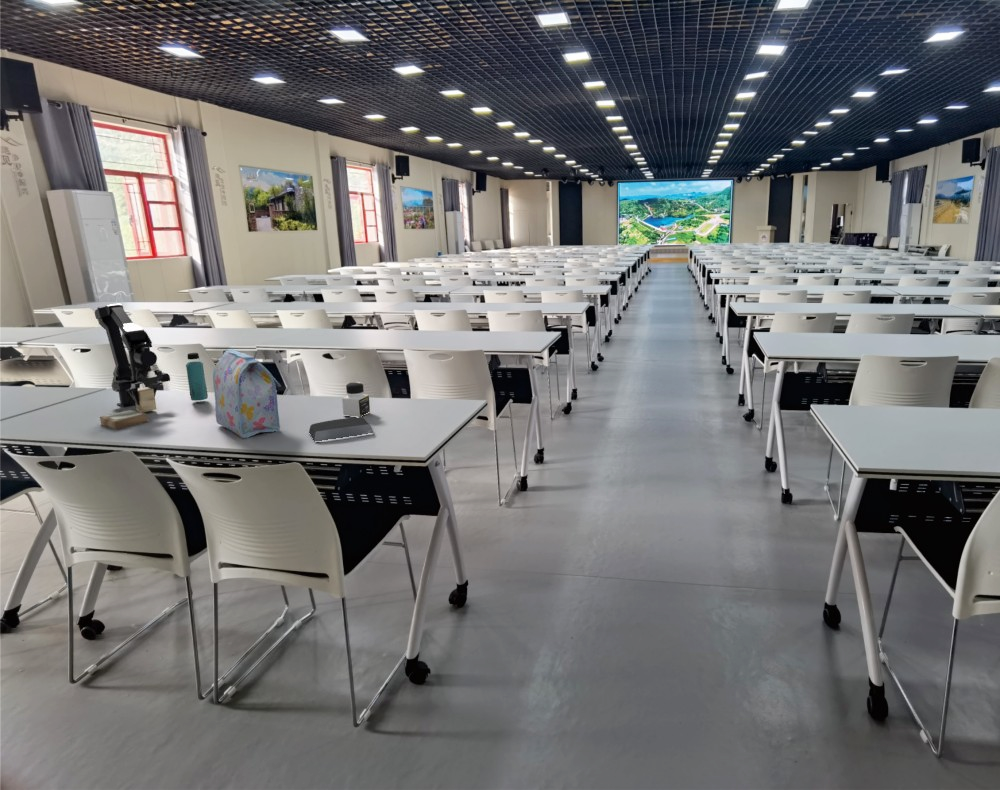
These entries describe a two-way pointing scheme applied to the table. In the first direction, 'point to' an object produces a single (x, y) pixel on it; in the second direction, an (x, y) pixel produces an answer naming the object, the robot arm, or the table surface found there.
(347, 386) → the medicine bottle
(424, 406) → the table surface
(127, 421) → the picture frame
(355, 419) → the external hard drive
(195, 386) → the beverage bottle
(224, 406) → the lunch bag
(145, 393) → the oak block
